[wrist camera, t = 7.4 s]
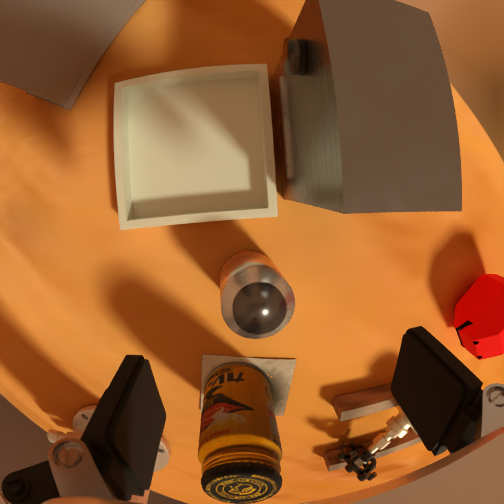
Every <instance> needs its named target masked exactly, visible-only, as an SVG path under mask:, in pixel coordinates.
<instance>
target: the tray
mask: <svg viewBox="0 0 504 504" xmlns="http://www.w3.org/2000/svg"><path fill="white" fill-rule="evenodd" d="M114 162H115V179H116V193H117V204H118V214H119V223H120V230H126V229H135V228H144V227H154V226H164V225H175V224H186V223H197V222H209V221H221V220H234V219H248V218H262V217H278V211H277V192H276V176H275V160H274V145H273V131H272V118H271V105H270V93H269V81H268V70H267V64H238V65H221V66H209V67H199V68H191V69H183V70H176V71H170V72H164V73H158V74H152V75H147V76H142V77H138V78H133V79H129V80H124V81H120V82H116V83H115V89H114Z"/></svg>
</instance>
